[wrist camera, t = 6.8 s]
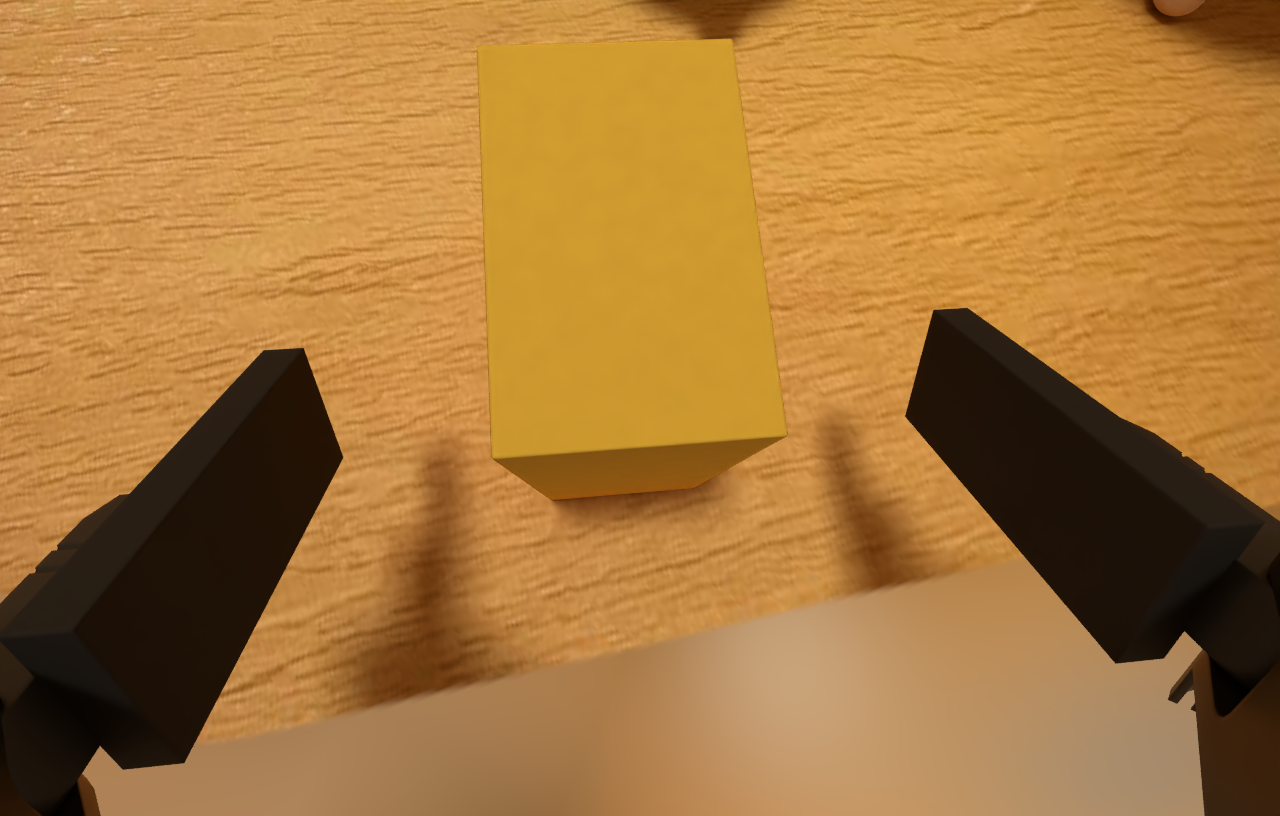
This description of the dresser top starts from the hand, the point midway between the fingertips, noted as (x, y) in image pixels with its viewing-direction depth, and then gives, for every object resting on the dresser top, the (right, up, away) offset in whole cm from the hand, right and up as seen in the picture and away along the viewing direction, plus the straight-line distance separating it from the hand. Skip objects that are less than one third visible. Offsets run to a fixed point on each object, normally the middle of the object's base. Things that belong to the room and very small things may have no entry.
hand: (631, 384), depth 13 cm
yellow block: (-1, 0, +9) cm, 9 cm away
